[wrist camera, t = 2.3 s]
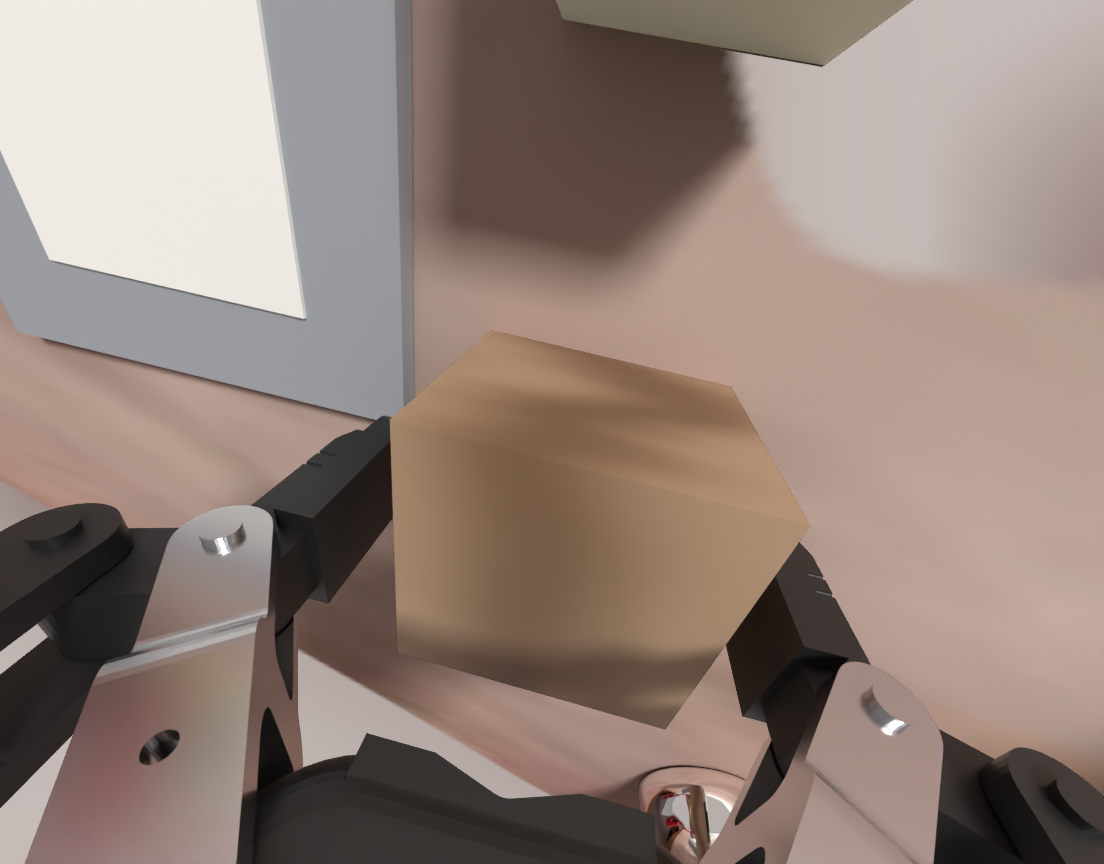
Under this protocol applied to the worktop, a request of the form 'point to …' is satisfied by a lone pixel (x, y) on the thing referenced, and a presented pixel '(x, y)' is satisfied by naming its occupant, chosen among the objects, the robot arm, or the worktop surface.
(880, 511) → the worktop surface
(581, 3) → the sage cube
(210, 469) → the worktop surface
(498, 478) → the walnut block
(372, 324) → the pad
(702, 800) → the beer glass
